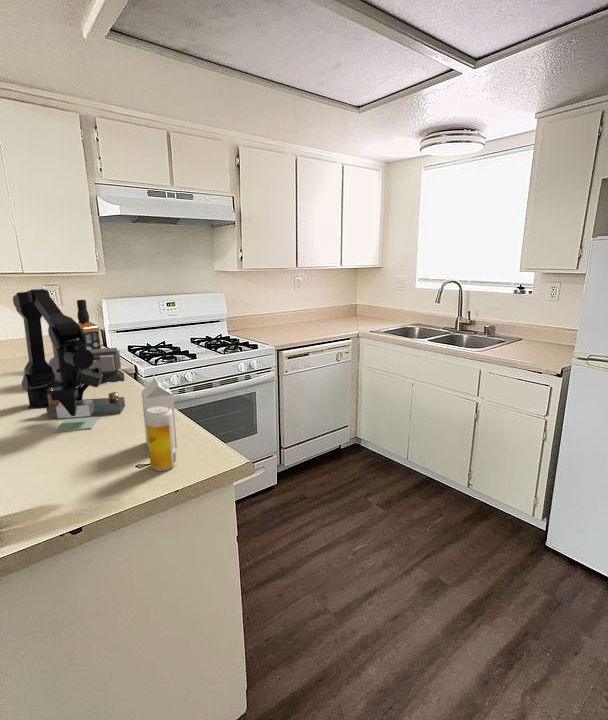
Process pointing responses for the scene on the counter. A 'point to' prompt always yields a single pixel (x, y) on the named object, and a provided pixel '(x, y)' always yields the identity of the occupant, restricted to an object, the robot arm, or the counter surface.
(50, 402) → the hand plane
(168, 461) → the beer can
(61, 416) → the lever cap
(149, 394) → the milk carton
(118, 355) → the juicer
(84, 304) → the whiskey bottle
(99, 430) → the counter surface
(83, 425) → the mat
